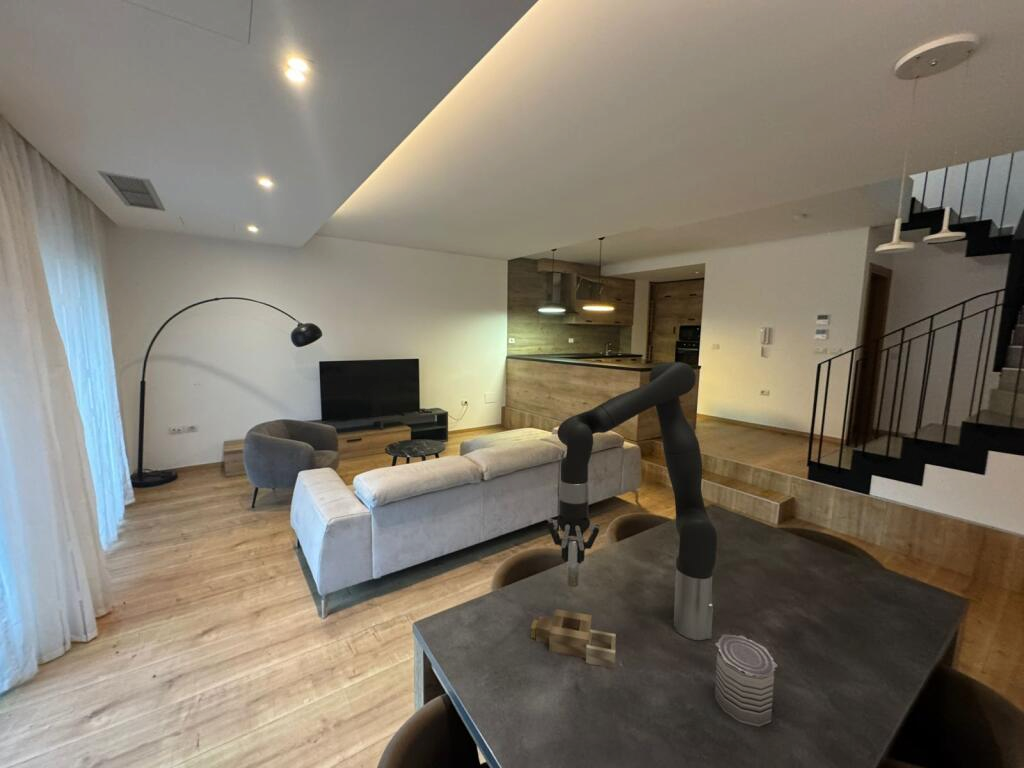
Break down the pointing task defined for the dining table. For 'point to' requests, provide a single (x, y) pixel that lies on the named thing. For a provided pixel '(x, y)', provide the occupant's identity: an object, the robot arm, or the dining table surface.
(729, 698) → the can
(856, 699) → the dining table surface
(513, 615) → the dining table surface
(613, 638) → the frame
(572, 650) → the socket block
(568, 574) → the rod
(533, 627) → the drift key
